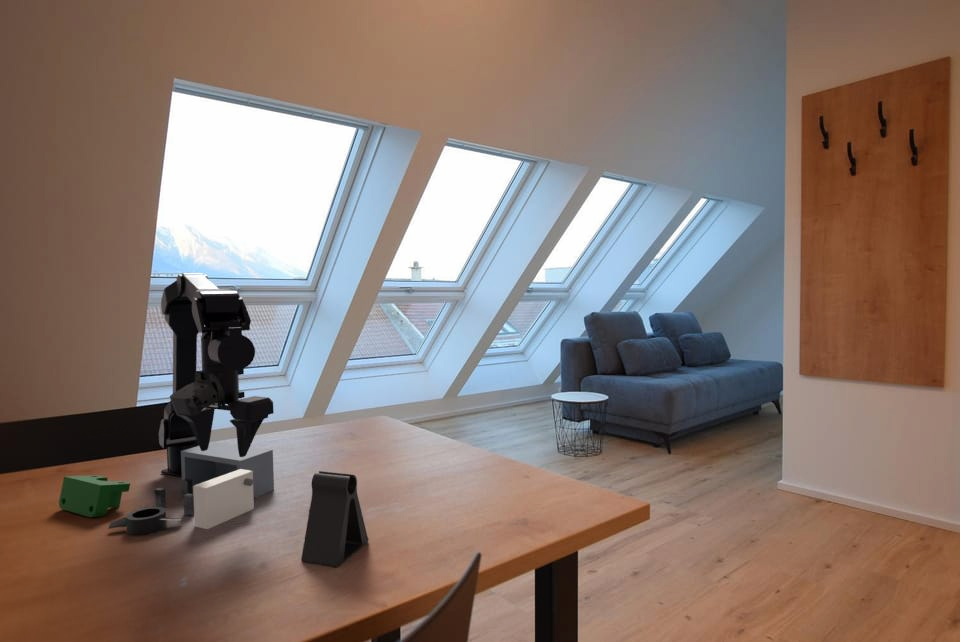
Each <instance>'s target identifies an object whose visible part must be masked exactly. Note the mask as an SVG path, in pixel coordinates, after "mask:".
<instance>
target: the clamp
mask: <svg viewBox="0 0 960 642" xmlns="http://www.w3.org/2000/svg"><path fill="white" fill-rule="evenodd" d="M130 486H131V482H128V481H124V480H117V481H116V480H114V481H113V480H111V481H110V480H109V478H108V477H106V476H103V475H94V474H93V475H91V474H90V475H70V476H67V475H66V476H63V481H62V486H61V490H60V494H59V499H58V505H59V508H60V510H64V511H67V512H69V513H70V512H71V513H74V514H78V515H81V516H85V517H87V518H97V517H104V516H105V515H106V514H107V513H108V510H109V509H111V508H119V507H120V505H121V502H122V501H121V500H122V495H123V493H126V492H130Z"/></svg>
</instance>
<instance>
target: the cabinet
mask: <svg viewBox="0 0 960 642" xmlns="http://www.w3.org/2000/svg"><path fill="white" fill-rule="evenodd" d="M181 469H182V476H181V481H182V480H184V479H191V480H192V493H193V486H194V485H197V484H200V483H203V482H205V481H208V480H211V479H214V478H217V477H219V476H222V475H225V474H228V473H230V472H233V471H236V470H239V469H244V470H250V471H253V496H254V499H255V498H258V497H260V496H262V495H266V494H267V493H270V492H272V491H274V490H275V482H274V481H275V480H274V477H275V476H274V474H275V473H274V450H273V449H269V448H265V447H264V448H263V447H256V446H250V448H249V450H248V452H247V454H246V456H244V457H240V456H239V452H238V443H237V444H235V443H227V442H222V441H210V442H209V446H208V449H207V450H205V451H201V449H200V447H199V446H197V447H193V448H190V449H186V450H183V451H181Z"/></svg>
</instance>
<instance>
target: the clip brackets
mask: <svg viewBox="0 0 960 642" xmlns="http://www.w3.org/2000/svg"><path fill="white" fill-rule="evenodd" d="M181 488H182V489H181V491H182V493H181V494H182V499H183V515H184V516H187V517H192V516H193V515H194V494H193V493H192V480H191V479H184V480H182V479H181ZM166 498H167V497H166V488H163V487H157V488H154V501H155V502H154V504H155V506H154V507H163V508H165V509H166V508H167V501H166V500H167V499H166Z"/></svg>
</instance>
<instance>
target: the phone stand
mask: <svg viewBox="0 0 960 642" xmlns="http://www.w3.org/2000/svg"><path fill="white" fill-rule="evenodd" d="M360 504H361V503H360V499H359V496H358V480H357V477H356V475H355V474H349V473H340V472H339V473H338V472H330V471H323V470H319V471H318V472H315V473H314V474H313V475H312V479H311V499H310V505H309V510H308V518H307V523H306V530H305V534H304V540H303V548H302V553H301V560H300V561H301V562H302V563H308V564H315V565H321V566H328V567H333V568H339V567H340V566H341V565H343V564H344V563H345V562H347V561H348V560H349V559H350V558H351V557H353V555H355V554H356V553H357V552H359V551H360V550H361V549H362V548H363V547H364V546H366V545H368V543H369V537H368V533H367V528H366V524H365V521H364V516H363V512H362V511H363V510H362V508H361V505H360Z"/></svg>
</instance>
